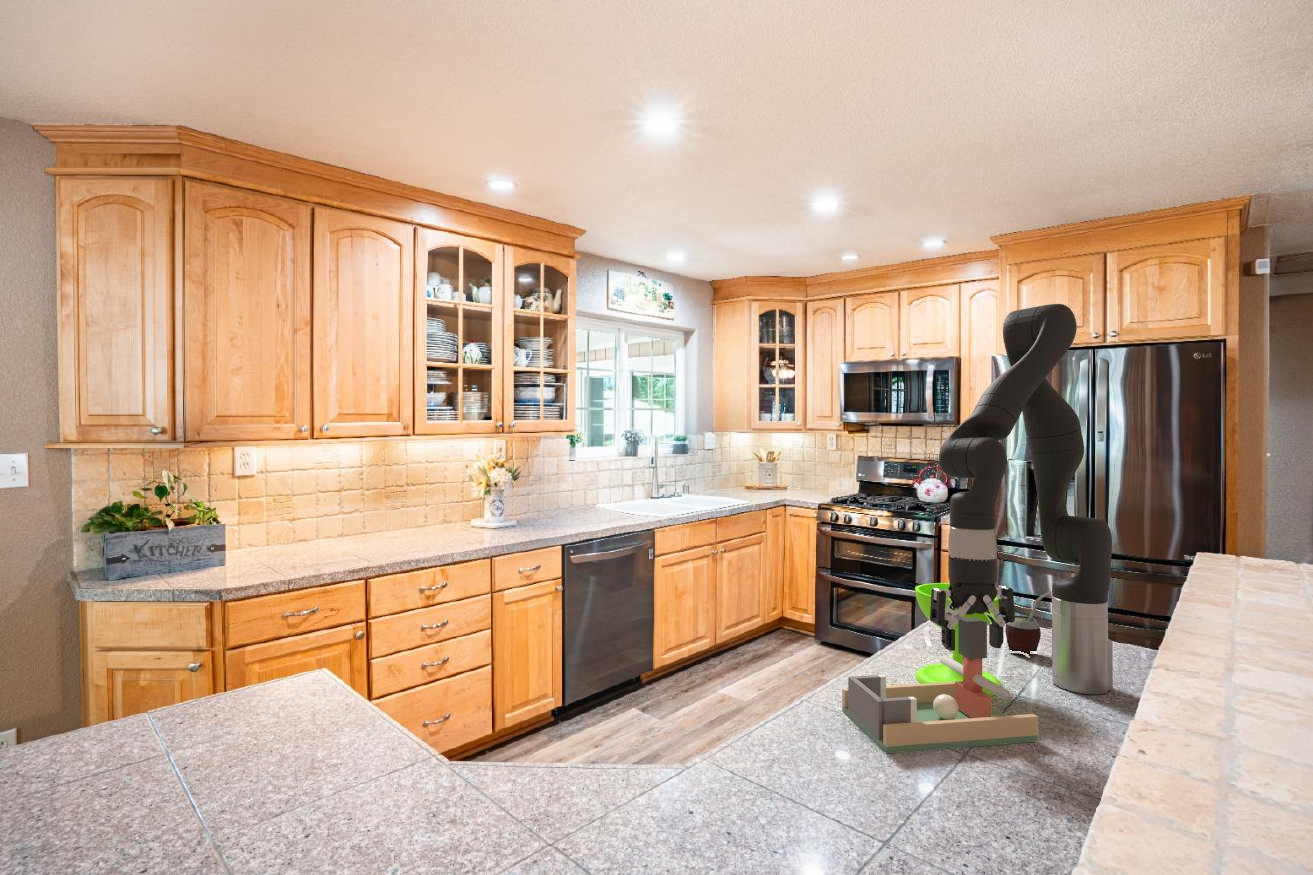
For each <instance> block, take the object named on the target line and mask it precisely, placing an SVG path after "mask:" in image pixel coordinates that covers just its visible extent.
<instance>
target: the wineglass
mask: <svg viewBox="0 0 1313 875" xmlns="http://www.w3.org/2000/svg"><path fill="white" fill-rule="evenodd" d="M949 585H950V582H935V583H933V582H931V583H924V584H923V583H922V584H918V585H917V586H915V587H914V590H915V591H914V592H915V596H916V597H915V598H916V602H917V604H918V607H919V608H920V610H921V612H922V613H923V615H925V617H926V618H927V619H928V620H929V621H930V607H931V590H932V588H934V587H935V588H938V589H948V588H949ZM950 601H951V599H950V598H949V597H948V601H946V603H945V609H946V607H947V606H948V604H949V603H950ZM993 604H994V605H995V606H996V608H997V609H998V611H999V604H998V598H997V596H996V598H995V599H994V601H993ZM957 610H958V609H957V608H956V609H955V611H957ZM963 618H977V619H980V620H982V621H984V622H987V627H989V624H992V623H991V622H990V620H989V619H988V618H987V616H986V615H985V614H978V613H975V614H971V615H967V614H965V615H964V617H963ZM933 624H934V625H935V626H937V627H938V628H940V629H941V626H939V625H937V624H935V623H933ZM953 629H955V651H952V659H953V660H955V661H956V662H958V663H960V664H962V665H963V655H961V654H959V653H958V622H957V623H956V625H955V626H954V628H953ZM982 676H983V677H985V678H987V679H989V680H990V681H992V682H994V683H996V684H997V685H999V686H1001V687H1003V684H1002V682H1001V681H1000V679H998V678H997V677H996V676H995V675H993V674H990V672H986V671H984V670H982ZM915 680H916V681H917V683H919V682H920V683H919V684H925V683H941V682H957V681H963V675H961V674H959V673H957V672H956V671H954V670H952V669H951V668H949V667H947V666H946V665H944V664H942V663H936V664H928V665H925V666H923V667H920V668H919V669H918V670H917V671H916V672H915ZM982 691H983V692H985V693H986V694H988V695H990V696H991V697H993V696H996V695H995V694H993V693H992V692H990V691H988V690H986V689H985V688H983V687H982Z"/></svg>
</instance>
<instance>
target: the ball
mask: <svg viewBox="0 0 1313 875" xmlns="http://www.w3.org/2000/svg"><path fill="white" fill-rule="evenodd" d="M933 708H934V711H935V713H936V714H937V715H938V716H939V717H940V718H942V719H945V720H950V719H953V718H955V717H956V716H957V714H958V711H959V707H958V704H957V702H956V700H955V699H954V698H953V697H951V696H949V695H946V694H942V695H939V696H937V697H936V698H935V700H934V702H933Z"/></svg>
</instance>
